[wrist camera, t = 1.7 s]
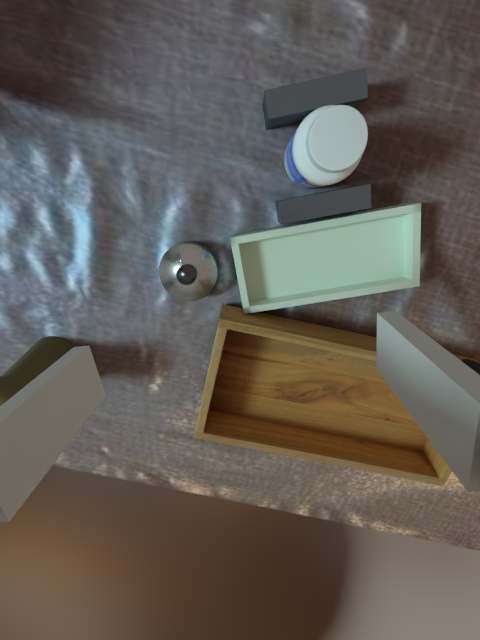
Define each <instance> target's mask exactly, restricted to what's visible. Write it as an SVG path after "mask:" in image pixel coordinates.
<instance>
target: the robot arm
mask: <svg viewBox="0 0 480 640" xmlns="http://www.w3.org/2000/svg"><path fill="white" fill-rule="evenodd" d="M376 369H377V370H378V372H379V373H380V374H381V376H382V377H383V379H384V380H385V381H386V383H387V384H388V385H389V387H390V388H391V389H392V391H393V392H394V393H395V395H396V396H397V397H398V399H399V400H400V401H401V403H402V404H403V405H404V407H405V408H406V409H407V411H408V412H409V413H410V415H411V416H412V417H413V419H414V420H415V422H416V423H417V424H418V426H419V427H420V428H421V430H422V431H423V432H424V434H425V435H426V436H427V438H428V439H429V440H430V442H431V443H432V444H433V446H434V447H435V448H436V450H437V451H438V452H439V454H440V455H441V456H442V458H443V459H444V460H445V462H446V463H447V465H448V466H449V467H450V469H451V470H452V471H453V473H454V474H455V475H456V477H457V478H458V479H459V481H460V482H461V483H462V485H463V486H464V487H465V489H466V490H467V491H468V492H470V491H480V363H478V362H475V361H473V360H470V359H461V360H459V359H458V358H457V357H455V356H454V355H453V354H451V353H450V352H449V351H447V350H446V349H445V348H443V347H442V346H441V345H439V344H438V343H437V342H436V341H434V340H433V339H432V338H430V337H429V336H428V335H426V334H425V333H424V332H422V331H421V330H420V329H418V328H417V327H416V326H414V325H413V324H412V323H410V322H409V321H408V320H407V319H405V318H404V317H403V316H401V315H400V314H399V313H397V312H396V311H390V312H381V313H377V354H376ZM105 396H106V395H105V392H104V389H103V386H102V383H101V380H100V377H99V373H98V370H97V367H96V364H95V361H94V358H93V355H92V352H91V349H90V346H89V345H88V346H80V347H73V348H72V349H71V350H70V351H68V352H67V353H66V354H65V355H63V356H62V357H61V358H60V359H58V360H57V361H56V362H55V363H53V364H52V365H51V366H50V367H48V368H47V369H46V370H45V371H44V372H42V373H41V374H40V375H39V376H37V377H36V378H35V379H34V380H32V381H31V382H30V383H29V384H27V385H26V386H25V387H24V388H22V389H21V390H20V391H19V392H17V393H16V394H15V395H14V396H12V397H11V398H10V399H9V400H7V401H6V402H5V403H4V404H3V405H1V406H0V522H9V521H10V520H11V519H12V517H13V516H14V515H15V513H16V512H17V511H18V510H19V508H20V507H21V506H22V504H23V503H24V502H25V500H26V499H27V498H28V496H29V495H30V494H31V493H32V491H33V490H34V488H35V487H36V486H37V485H38V483H39V482H40V481H41V479H42V478H43V477H44V475H45V474H46V473H47V472H48V470H49V469H50V468H51V466H52V465H53V464H54V462H55V461H56V460H57V459H58V457H59V456H60V455H61V453H62V452H63V451H64V449H65V448H66V447H67V445H68V444H69V443H70V442H71V440H72V439H73V438H74V436H75V435H76V434H77V432H78V431H79V430H80V428H81V427H82V426H83V425H84V423H85V422H86V421H87V419H88V418H89V417H90V415H91V414H92V413H93V411H94V410H95V409H96V408H97V406H98V405H99V404H100V402H101V401H102V400H103V398H104V397H105Z"/></svg>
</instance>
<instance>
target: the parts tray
mask: <svg viewBox="0 0 480 640" xmlns="http://www.w3.org/2000/svg"><path fill="white" fill-rule="evenodd" d="M420 238H421V203H405V204H400V205H394V206H389V207H383V208H378V209H372V210H367V211H361V212H356V213H350V214H345V215H339V216H334V217H329V218H323V219H318V220H312V221H307V222H301V223H296V224H290V225H285V226H279V227H274V228H268V229H263V230H257V231H252V232H247V233H241V234H236V235H231V237H230V241H231V246H232V252H233V257H234V263H235V268H236V273H237V279H238V284H239V289H240V295H241V300H242V306H243V311H244V314H248V313H254V312H260V311H267V310H273V309H279V308H285V307H292V306H298V305H304V304H311V303H317V302H323V301H330V300H336V299H342V298H348V297H355V296H361V295H367V294H374V293H380V292H386V291H392V290H399V289H405V288H411V287H418V286H420Z"/></svg>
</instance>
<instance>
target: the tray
mask: <svg viewBox="0 0 480 640" xmlns="http://www.w3.org/2000/svg"><path fill="white" fill-rule="evenodd" d="M376 354H377V337H373V336H368V335H363V334H359V333H354V332H349V331H345V330H340V329H335V328H331V327H326V326H321V325H317V324H312V323H307V322H303V321H298V320H293V319H289V318H284V317H280V316H275V315H270V314H266V313H261V312H254V313H248V314H244V311H243V308H238V307H234V306H229V305H222V310H221V314H220V318H219V323H218V328H217V332H216V337H215V341H214V346H213V350H212V355H211V359H210V364H209V369H208V373H207V378H206V382H205V387H204V392H203V396H202V401H201V405H200V410H199V415H198V419H197V424H196V429H195V433H194V438H198V439H203V440H209V441H214V442H219V443H224V444H230V445H235V446H240V447H245V448H251V449H256V450H261V451H266V452H271V453H276V454H282V455H287V456H292V457H297V458H302V459H308V460H313V461H318V462H324V463H329V464H334V465H339V466H344V467H349V468H354V469H359V470H364V471H369V472H375V473H380V474H385V475H390V476H395V477H400V478H405V479H410V480H416V481H421V482H426V483H431V484H437V485H442V486H443V485H444V484H445V482H446V480H447V479H448V477H449V476H450V474H451V472H452V470H451V469H450V467H449V466H448V465H447V463H446V462H445V460H444V459H443V458H442V456H441V455H440V454H439V452H438V451H437V450H436V448H435V447H434V446H433V444H432V443H431V442H430V440H429V439H428V438H427V436H426V435H425V434H424V432H423V431H422V430H421V428H420V427H419V426H418V424H417V423H416V422H415V420H414V419H413V417H412V416H411V415H410V413H409V412H408V411H407V409H406V408H405V407H404V405H403V404H402V403H401V401H400V400H399V399H398V397H397V396H396V395H395V393H394V392H393V391H392V389H391V388H390V387H389V385H388V384H387V383H386V381H385V380H384V379H383V377H382V376H381V374H380V373H379V372H378V370H377V369H376ZM453 355H454V356H455V357H457V358H458V359H459V360H461V359H470V360H473V361H475V362H478V363H480V361H478V360H476V359H474V358H469V357H465V356H460V355H456V354H453Z"/></svg>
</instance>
